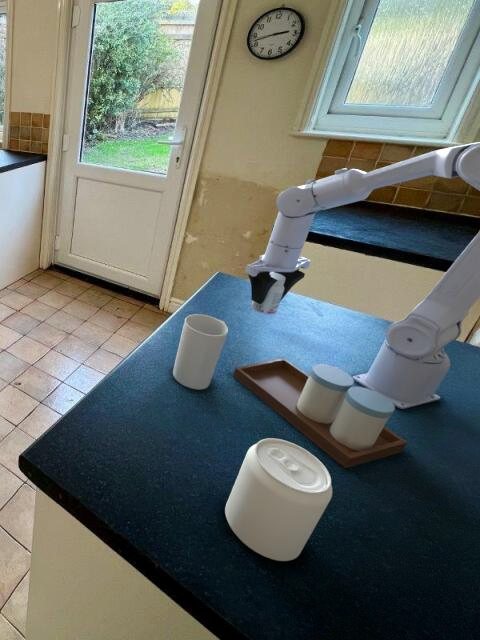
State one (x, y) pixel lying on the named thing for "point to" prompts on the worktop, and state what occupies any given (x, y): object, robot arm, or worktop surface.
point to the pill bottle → (271, 296)
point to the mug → (199, 350)
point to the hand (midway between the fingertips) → (266, 300)
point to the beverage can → (278, 498)
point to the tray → (282, 396)
